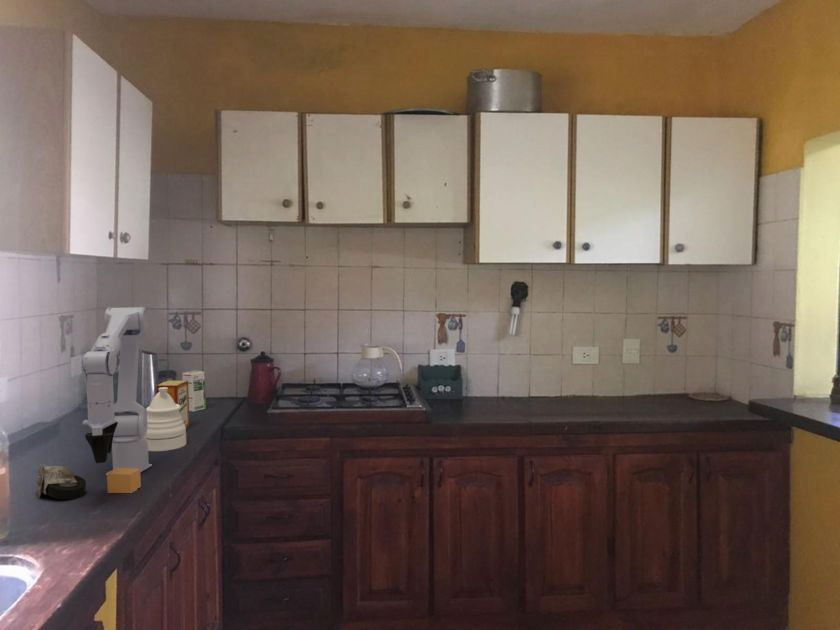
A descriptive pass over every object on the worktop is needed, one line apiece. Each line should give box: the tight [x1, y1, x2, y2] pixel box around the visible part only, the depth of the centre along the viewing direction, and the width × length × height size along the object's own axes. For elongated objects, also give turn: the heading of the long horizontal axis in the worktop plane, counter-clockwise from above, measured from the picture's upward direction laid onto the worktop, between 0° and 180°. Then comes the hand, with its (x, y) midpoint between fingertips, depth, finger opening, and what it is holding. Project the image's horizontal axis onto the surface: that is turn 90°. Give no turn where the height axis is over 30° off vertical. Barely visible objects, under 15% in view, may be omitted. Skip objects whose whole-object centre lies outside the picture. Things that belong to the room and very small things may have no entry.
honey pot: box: [144, 387, 187, 452], centre depth 206 cm, size 13×13×18 cm
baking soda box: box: [156, 379, 191, 429], centre depth 226 cm, size 10×6×16 cm
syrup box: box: [182, 370, 207, 412], centre depth 255 cm, size 6×6×14 cm
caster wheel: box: [35, 462, 87, 501], centre depth 163 cm, size 7×11×10 cm
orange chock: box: [106, 468, 142, 494], centre depth 166 cm, size 4×6×5 cm
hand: (103, 457), depth 161 cm, fingers open, 7 cm apart
